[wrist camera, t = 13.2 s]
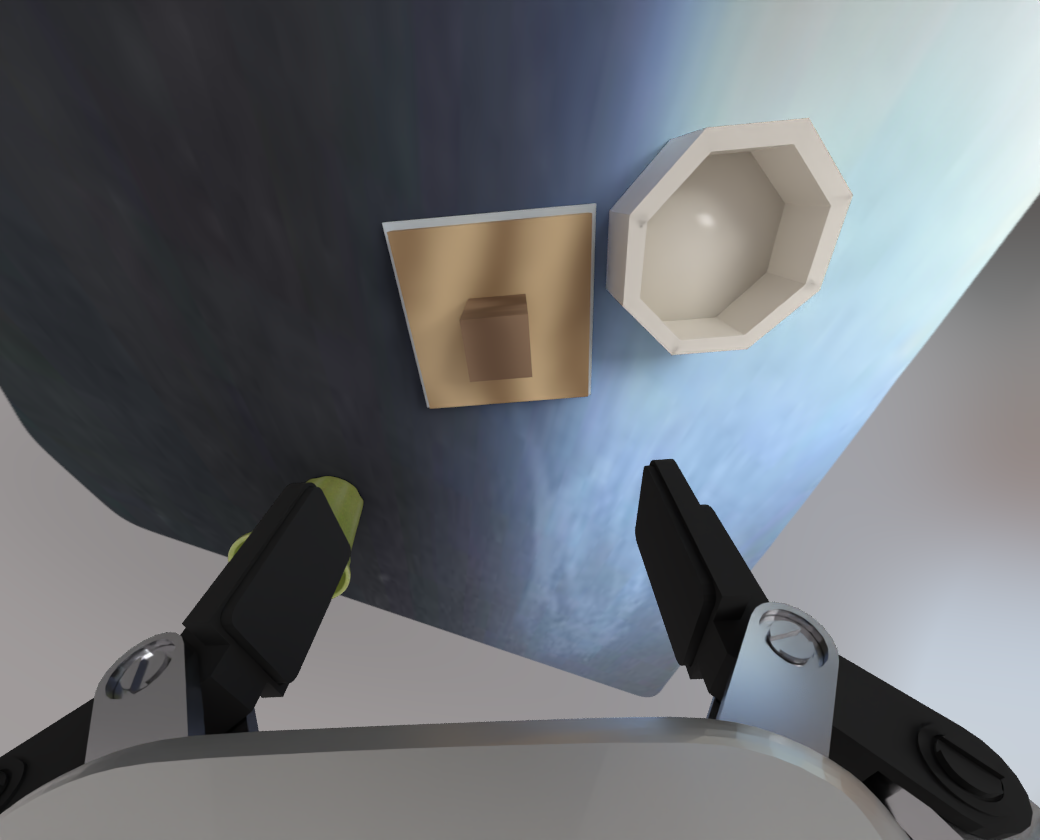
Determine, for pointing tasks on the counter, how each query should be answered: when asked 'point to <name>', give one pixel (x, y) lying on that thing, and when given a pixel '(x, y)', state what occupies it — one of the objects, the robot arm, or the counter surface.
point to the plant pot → (345, 510)
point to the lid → (499, 308)
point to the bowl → (726, 234)
